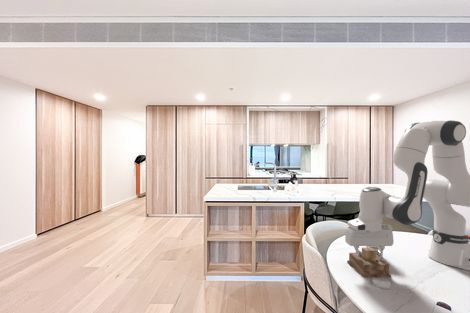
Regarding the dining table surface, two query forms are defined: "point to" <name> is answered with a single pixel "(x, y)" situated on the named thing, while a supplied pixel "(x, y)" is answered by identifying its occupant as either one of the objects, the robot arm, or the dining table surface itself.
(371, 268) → the socket block
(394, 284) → the dining table surface
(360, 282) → the dining table surface
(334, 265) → the dining table surface
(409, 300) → the dining table surface
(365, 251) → the oak peg
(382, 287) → the grey flat pebble
